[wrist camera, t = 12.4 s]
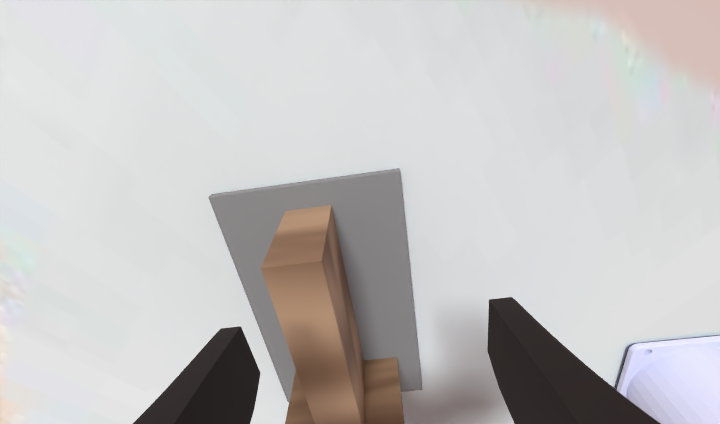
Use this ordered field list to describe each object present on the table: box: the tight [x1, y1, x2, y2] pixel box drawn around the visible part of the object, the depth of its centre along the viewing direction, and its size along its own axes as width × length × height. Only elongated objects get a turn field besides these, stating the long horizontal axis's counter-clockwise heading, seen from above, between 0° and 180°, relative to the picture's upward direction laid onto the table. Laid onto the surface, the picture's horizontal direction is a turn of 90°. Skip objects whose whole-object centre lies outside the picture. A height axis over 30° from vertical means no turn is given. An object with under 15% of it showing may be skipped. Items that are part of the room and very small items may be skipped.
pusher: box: [261, 205, 404, 424], centre depth 19 cm, size 13×7×5 cm, turn 8°
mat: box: [209, 169, 422, 402], centre depth 22 cm, size 10×17×1 cm, turn 8°
